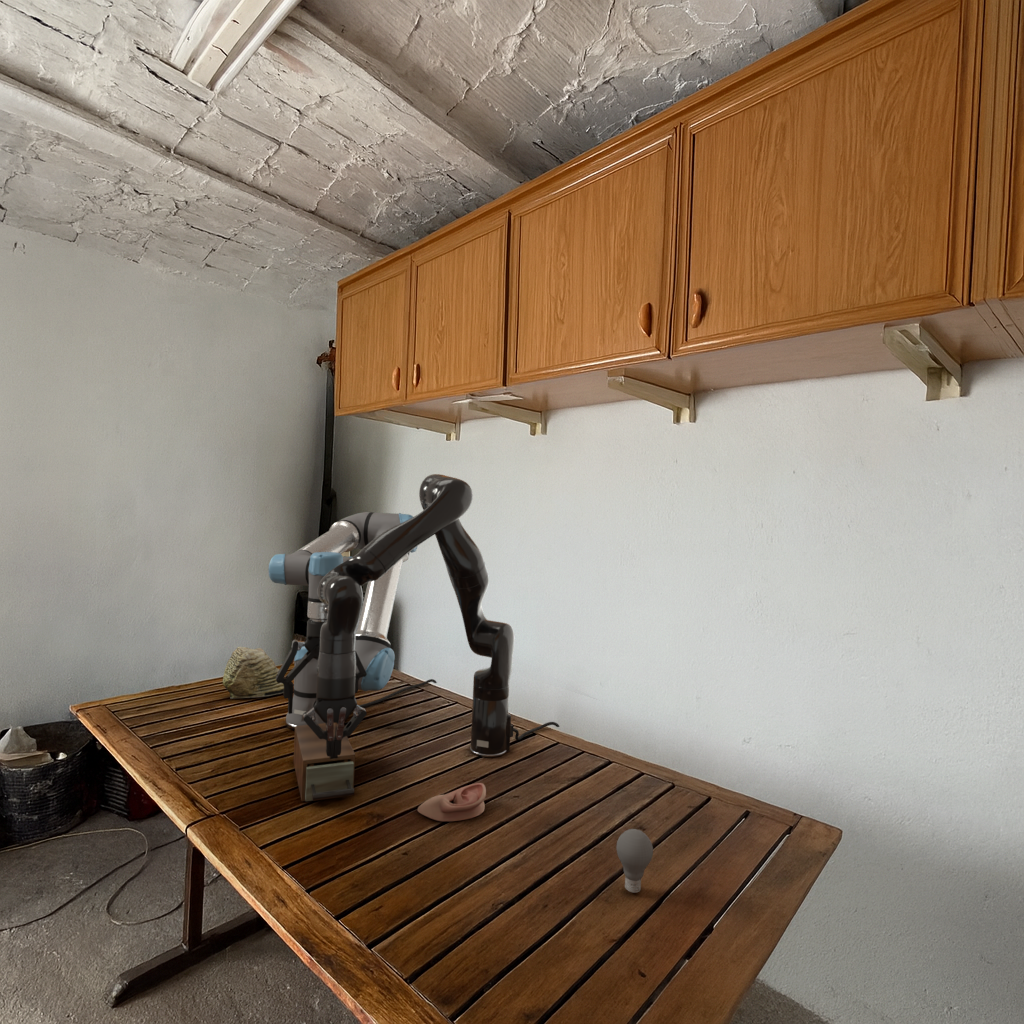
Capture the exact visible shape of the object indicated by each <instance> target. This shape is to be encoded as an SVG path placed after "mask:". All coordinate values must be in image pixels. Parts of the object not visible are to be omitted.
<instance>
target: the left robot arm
mask: <svg viewBox="0 0 1024 1024" xmlns="http://www.w3.org/2000/svg"><path fill="white" fill-rule="evenodd" d="M413 517H414V516H413V515H412V514H409V513H402V512H399V513H394V512H393V513H391V512H372V511H364V512H358V513H354V514H351V515H349V516H346V517H343V518H341V519H339V520H338V521H336V522H334V523H333V524H331V526H330V528H329V530H328V531H326V532H325V533H323V534H321V535H320V536H318V537H317V538H315V539H313V540H312V541H310V542H309V543H307V544H306V545H304V546H302V547H301V548H299V549H298V550H296V551H294V552H292V553H290V554H289V553H276V554H274V555H273V556H272V557H271V559H270V561H269V564H268V577H269V579H270V581H271V582H272V583H274V584H279V585H285V586H286V585H289V586H307V587H308V597H307V614H306V615H307V618H308V620H307V621H306V637H305V640H298V639H296V638H295V639H293V640H292V641H291V646H290V649H289V651H288V654H287V655H286V657H285V659H284V661H283V663H282V665H281V666H280V668H279V672H278V673H277V675H276V681H277V682H278V683H283V684H284V692H283V693H282V695H283V698H284V699H288V700H287V713H286V715H285V726H286V728H287V729H289V730H291V731H295V726H302V725H307V724H306V722H305V721H304V719H303V713H304V712H308V711H310V710H311V709H312V708H313V705H314V702H315V701H316V694H317V667H318V657H319V651H320V631H321V627H322V624H323V623H324V622H326V621H327V618H328V611H329V606H327V605H325V604H324V603H322V602H321V601H320V599H319V598H318V595H317V588H318V585H319V582H320V581H321V579H322V578H323V577H324V576H325V575H326V574H327V573H328V572H330V571H331V570H332V569H334V568H335V567H337V566H338V565H340V564H342V563H343V562H345V561H346V560H348V559H350V558H352V557H353V556H346V555H345V556H343V553H349V552H352V551H354V550H362V549H363V548H364V547H365V546H366V545H368V544H369V543H370V542H371V541H372V540H373V539H375V538H376V537H377V536H378V535H380V534H381V533H383V532H385V531H386V530H388V529H390V528H392V527H394V526H396V525H398V524H401V523H403V522H405V521H407V520H409V519H411V518H413ZM418 547H419V545H418V546H417V547H416V548H414V549H413V550H412V551H410V552H409V553H408V554H407V555H405V556H404V557H403V558H402V559H401V560H400V561H399V562H398V563H396V564H395V565H394V566H393V567H392V568H391V569H390V570H389V571H388V572H386V573H385V574H384V575H383V576H382V577H381V578H379V579H378V580H376V581H370V582H367V585H366V589H365V593H364V597H363V602H362V608H361V612H360V616H359V620H358V624H357V627H356V645H355V655H356V677H355V694H357V693H358V692H359V691H364V692H368V691H370V692H371V691H373V692H374V691H375V692H377V691H381V690H383V689H384V688H385V686H387V685H388V683H389V681H390V680H391V677H392V674H393V671H394V666H395V659H396V658H395V657H396V655H395V651H394V650H393V649H392V648H391V642H390V641H389V639H388V632H389V628H390V623H391V619H392V614H393V610H394V604H395V599H396V594H397V590H398V585H399V580H400V576H401V572H402V571H401V570H402V565H403V563H404V562H406V561H408V560H409V557H410V553H415V552H417V550H418ZM293 662H294V666H293V668H292V669H291V670H290V671H289V672H288V670H289V668H290V667H291V665H292V663H293ZM287 672H288V674H287ZM430 683H433V684H437V683H438V681H436V679H433V678H430V679H428V680H425V681H423V682H420V683H416V684H413V685H409V686H406V687H404V688H400V689H399V690H396V691H394V692H392V693H390V694H387V695H385V696H383V697H381V698H379V699H375V700H372V701H369V702H366V703H362V704H357V705H358V706H360V707H363V708H366V707H369V706H372V705H375V704H378V703H381V702H383V701H386V700H388V699H390V698H392V697H395V696H396V695H399V694H401V693H403V692H405V691H409V690H411V689H415V688H418V687H423V686H425V685H428V684H430ZM315 716H316V720H315V721H316V723H317V724H323V723H324V722H323V721H322V719H321V718H320V717H319V715H318V714H317V713H316V714H315Z"/></svg>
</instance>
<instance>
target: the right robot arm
mask: <svg viewBox="0 0 1024 1024" xmlns="http://www.w3.org/2000/svg"><path fill="white" fill-rule="evenodd" d="M418 492H419V493H418V495H419V502H420V506H421V508H422V511H421V512H418V514H416V515H414V516H413V518H411V519H409V520H407V521H405V522H403V523H401V524H398V525H396V526H394V527H392V528H390V529H388V530H386V531H385V532H383V533H381V534H380V535H378V536H377V537H376V538H375V539H373V540H372V541H371V542H370V543H369V544H368V545H366V546H365V547H364V548H363V549H360V550H359V551H358V553H356V554H355V555H354V556H351V557H352V558H350V559H348V560H346V561H345V562H343V563H342V564H340V565H338V566H337V567H335V568H334V569H332V570H331V571H330V572H328V573H327V574H326V575H325V576H324V577H323V578H322V579H321V581H320V582H319V585H318V588H317V595H318V598H319V599H320V601H321V602H322V603H324V604H325V605H327V606H329V611H328V618H327V621H326V622H324V623H323V624H322V627H321V631H320V651H319V657H318V667H317V694H316V701H315V702H314V705H313V708H312V709H311V710H310V711H308V712H304V713H303V719H304V721H305V722H306V724H307V725H308V726H309V727H310V728H311V729H312V731H313V732H314V733H315V734H316V735H317V736H318V738H319V739H325V740H326V754H327V756H329V758H330V759H335V758H338V755H340V754H341V741H342V738H344V737H346V736H347V737H350V736H352V734H353V733H354V731H356V729H357V727H358V726H359V725H360V724H361V723H362V721H363V720H364V719H365V718H366V716H367V714H368V713H367V711H366V709H365V707H360V706H358V705H359V704H358V701H357V699H356V693H355V677H356V655H355V645H356V632H357V627H358V623H359V619H360V615H361V610H362V606H363V602H364V593H363V588H362V587H363V586H364V585H365V584H368V582H370V581H376V580H378V579H379V578H381V577H382V576H383V575H384V574H385V573H386V572H388V571H389V570H390V569H391V568H392V567H393V566H394V565H395V564H396V563H398V562H399V561H400V560H401V559H402V558H403V557H404V556H405V555H407V554H408V553H409V552H410V551H412V550H413V549H414V548H416V547H417V546H418V547H419V546H420V545H421V544H423V543H424V542H425V541H427V540H429V539H430V538H432V537H433V536H435V539H436V541H437V544H438V547H439V550H440V553H441V556H442V559H443V561H444V564H445V567H446V571H447V575H448V578H449V580H450V583H451V586H452V588H453V591H454V594H455V597H456V600H457V604H458V606H459V609H460V614H461V617H462V621H463V626H464V631H465V635H466V639H467V643H468V645H469V646H468V647H469V648H470V650H471V652H472V653H474V654H475V655H477V656H481V657H484V658H490V666H489V667H485V668H484V667H483V668H480V669H478V670H476V671H475V672H474V673H473V683H472V685H473V686H472V706H471V707H472V709H471V729H470V730H471V732H470V747H469V751H470V752H471V753H472V754H473V755H475V756H477V757H481V758H496V757H497V758H498V757H502V756H504V755H506V753H510V749H511V738H513V737H514V739H515V741H520V740H522V739H523V738H525V737H526V736H528V735H530V734H532V733H535V732H537V731H540V730H542V729H544V728H547V727H549V726H554V727H556V728H560V725H559V723H557V722H555V721H549V722H545V723H543V724H541V725H539V726H536V727H534V728H532V729H529V730H526V731H524V732H522V734H521V735H520V732H519V730H518V729H517V728H515V726H514V725H513V724H512V714H510V713H509V704H510V703H509V700H510V679H511V676H512V671H513V664H514V652H515V651H514V650H515V640H516V639H515V631H514V628H513V626H512V625H511V624H510V623H508V622H502V621H498V620H497V621H496V620H490V619H488V618H487V617H486V615H485V613H484V612H485V611H484V609H483V601H484V599H485V596H486V593H487V591H488V589H489V585H490V575H489V571H488V567H487V564H486V561H485V558H484V556H483V553H482V552H481V550H480V548H479V547H478V545H477V544H476V542H475V541H474V539H472V537H471V536H470V534H469V533H468V532H467V530H466V529H465V528H464V526H463V525H462V522H461V520H460V518H462V517H463V516H464V515H465V514H466V513H467V512H468V511H469V510H470V508H471V505H472V504H473V500H474V499H473V497H474V495H473V489H472V488H471V486H470V484H469V483H468V482H466V481H464V480H463V479H460V478H458V477H453V476H449V475H444V474H440V473H439V474H438V473H433V474H429V475H427V476H425V478H424V479H423V480H422V482H421V483H420V486H419V491H418ZM418 547H417V548H418ZM410 553H411V552H410ZM410 553H409V554H410ZM316 713H317V714H318V715H319V717H320V718H321V719H322V721H323V722H324V723H325V725H326V731H324V730H322V729H321V727H320V726H319V725H318V724H317V723H316V721H315V720H316V716H315V714H316ZM352 714H353V716H352V717H351V718H350V716H351V715H352ZM349 718H350V720H349V721H348V722H347V723H346V724H345V722H346V721H347V720H348V719H349ZM334 723H335V737H334V731H333V730H334ZM514 733H515V735H514Z"/></svg>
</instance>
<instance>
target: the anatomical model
mask: <svg viewBox="0 0 1024 1024" xmlns="http://www.w3.org/2000/svg"><path fill="white" fill-rule="evenodd" d="M486 797H487V788H486V785H485V784H484V783H483V782H476V783H472V784H469V785H465V786H462V787H460V788H458V789H455V790H453V791H450V792H447V793H445V794H438V795H435V796H432V797H430V798H429V799H427V800H425V801H424V802H422V803H421V804H420V805H419V806H418V807H417V812H418V813H419V814H420V815H422V816H424V817H426V818H428V819H431V820H434V821H437V822H457V821H464V820H469V819H473V818H476V817H478V816H480V815H482V814H483V813H484V811H485V809H486V806H485V805H486V804H485V799H486Z"/></svg>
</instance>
